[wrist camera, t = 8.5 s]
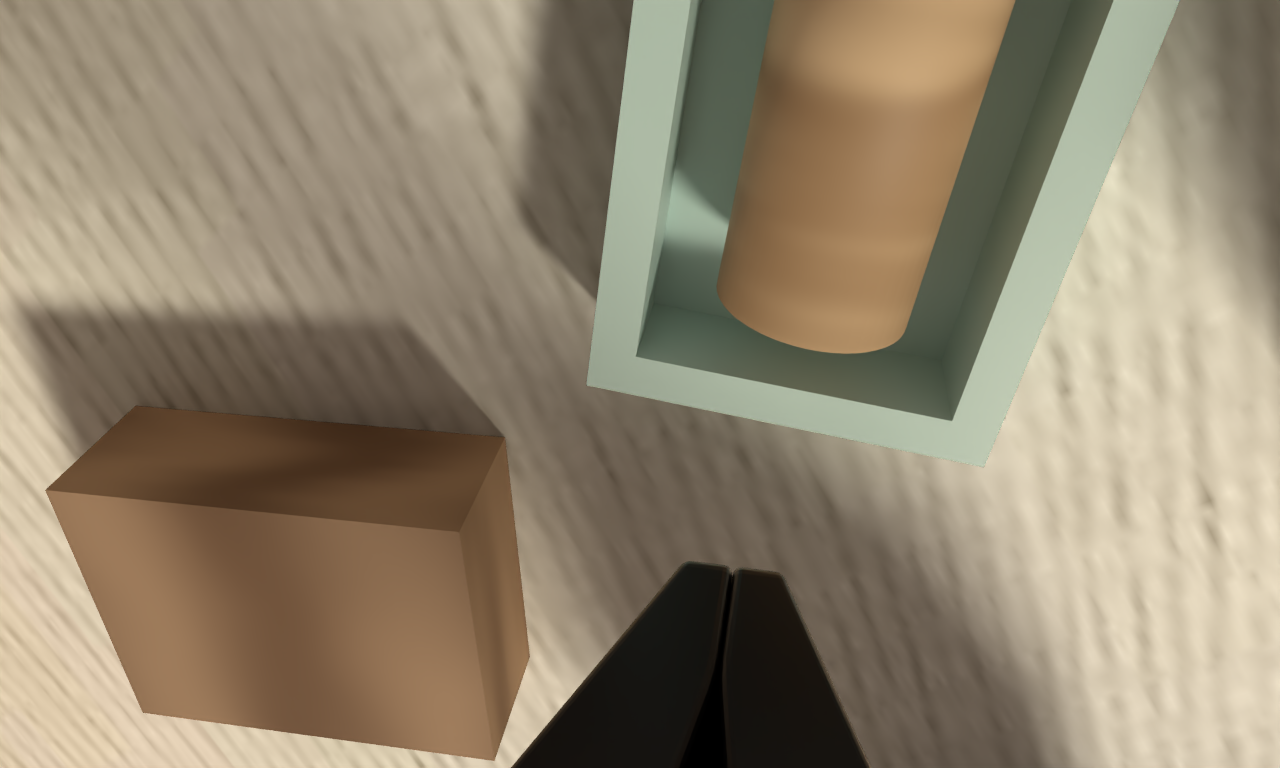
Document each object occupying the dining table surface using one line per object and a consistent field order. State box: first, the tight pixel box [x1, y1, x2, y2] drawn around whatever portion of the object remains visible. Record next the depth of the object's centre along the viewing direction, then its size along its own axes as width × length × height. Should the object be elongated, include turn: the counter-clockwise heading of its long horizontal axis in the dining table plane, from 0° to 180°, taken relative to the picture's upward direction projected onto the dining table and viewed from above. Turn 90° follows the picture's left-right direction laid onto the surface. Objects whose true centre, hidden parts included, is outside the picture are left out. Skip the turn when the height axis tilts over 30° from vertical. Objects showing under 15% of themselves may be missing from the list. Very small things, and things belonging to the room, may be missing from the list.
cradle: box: [586, 0, 1180, 467], centre depth 15 cm, size 7×13×2 cm, turn 173°
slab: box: [45, 406, 530, 761], centre depth 23 cm, size 9×7×4 cm
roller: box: [716, 0, 1016, 354], centre depth 14 cm, size 8×3×3 cm, turn 172°
